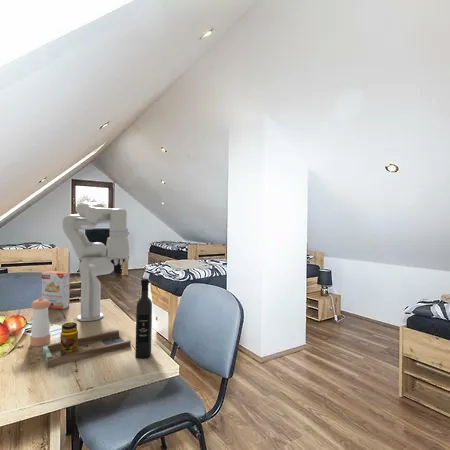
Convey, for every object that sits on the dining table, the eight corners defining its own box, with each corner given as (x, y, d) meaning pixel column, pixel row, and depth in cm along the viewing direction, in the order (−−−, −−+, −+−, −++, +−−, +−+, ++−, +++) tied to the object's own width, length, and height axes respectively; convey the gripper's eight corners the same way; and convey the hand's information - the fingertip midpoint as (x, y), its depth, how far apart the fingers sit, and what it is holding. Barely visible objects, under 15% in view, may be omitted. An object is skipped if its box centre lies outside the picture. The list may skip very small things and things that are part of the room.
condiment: (63, 360, 115) (64, 328, 115) (54, 353, 121) (54, 323, 120) (83, 354, 121) (83, 323, 121) (73, 348, 126) (73, 318, 126)
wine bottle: (150, 358, 119) (151, 280, 118) (135, 359, 118) (136, 280, 117) (151, 352, 124) (152, 277, 124) (136, 352, 123) (138, 277, 123)
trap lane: (41, 352, 122) (41, 344, 121) (117, 335, 140) (117, 329, 140) (48, 367, 110) (48, 359, 110) (130, 347, 129) (130, 339, 128)
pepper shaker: (38, 347, 126) (39, 300, 125) (26, 344, 128) (26, 298, 128) (54, 341, 133) (54, 296, 132) (41, 338, 135) (42, 294, 135)
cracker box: (40, 308, 178) (41, 272, 178) (48, 305, 184) (48, 270, 184) (62, 310, 176) (63, 273, 175) (69, 307, 182) (70, 271, 181)
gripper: (130, 234, 154) (129, 270, 154) (99, 234, 145) (98, 273, 145) (136, 234, 148) (135, 273, 148) (104, 235, 139) (103, 276, 139)
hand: (117, 273), depth 147 cm, fingers closed
